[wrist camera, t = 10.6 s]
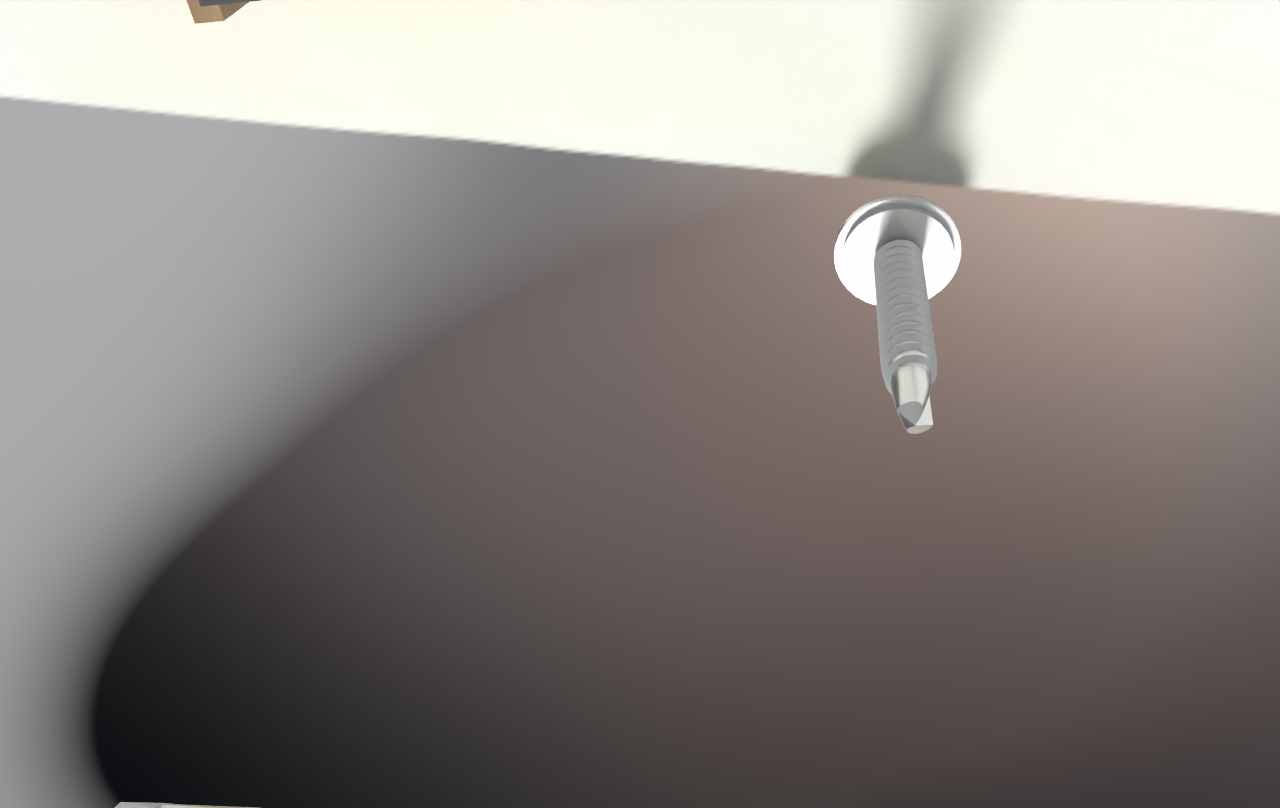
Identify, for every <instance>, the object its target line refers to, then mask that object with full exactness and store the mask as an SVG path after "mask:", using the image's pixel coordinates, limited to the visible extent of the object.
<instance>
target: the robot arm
mask: <svg viewBox="0 0 1280 808" xmlns="http://www.w3.org/2000/svg"><path fill="white" fill-rule="evenodd" d="M115 808H250V807H225V806H197V805H176V804H169V803H132V802H130V803H129V802H128V803H127V802H120V803H119V804H118V805H117V806H116V807H115ZM251 808H253V807H251Z"/></svg>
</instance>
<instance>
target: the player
mask: <svg viewBox="0 0 1280 808" xmlns="http://www.w3.org/2000/svg"><path fill="white" fill-rule="evenodd" d="M198 1H199V3H200V6H201V7H202V6H212V5H221V4H230V3H240V2H249V1H259V0H198Z"/></svg>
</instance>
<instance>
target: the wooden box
mask: <svg viewBox="0 0 1280 808" xmlns="http://www.w3.org/2000/svg"><path fill="white" fill-rule="evenodd" d="M187 3H188V5H189V8H190V11H191V14H192V16H193V19H194V22H195V24H196V23H206V22H215V21H224V20H225V19H227V18H228V17H229V16H231V15H232V14H233V13H235V12H236V11H237V10H239V9H240V8H241V7H243V6H244V5H245V4H247V3H248V2H240V3H230V4H221V5H212V6H202V7H201V6H200V3H199V1H198V0H187Z"/></svg>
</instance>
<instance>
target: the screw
mask: <svg viewBox="0 0 1280 808" xmlns="http://www.w3.org/2000/svg"><path fill="white" fill-rule="evenodd" d="M960 258H961V242H960V237H959V232H958V229H957V227H956V225H955V224H954V221H953V219H952V218H951V217H950V216H949V215H948V214H947V213H946V211H945V210H944V209H942V208H941V207H939V206H938V205H937V204H935V203H934V202H931V201H929V200H927V199H924V198H922V197H917V196H912V195H891V196H886V197H880V198H878V199H875V200H873V201H870V202H868V203H866V204H865V205H863V206H862V207H860V208H858V209H857V210H856V211H855V212H854V213H853V214H852V215H850V216H849V218H847V220H846V221H845V222H844V224H843V226H842V227H841V229H840V230H839V233H838V236H837V238H836V241H835V249H834V259H835V267H836V270H837V273H838V275H839V278H840V280H841V281H842V282H843V284H844V285H845V287H846V288H847V289H848V290H849V291H850V292H851V293H853V294H854V295H855V296H856V297H858V298H860V299H862V300H864V301H866V302H867V303H871V304H874V305H876V308H877V318H878V320H877V324H878V335H879V345H880V347H879V349H880V350H879V352H880V363H881V367H882V375H883V378H884V381H885V386H886V388H887V390H888V391H889V392H890V393H891V394H892V396H893V400H894V403H895V406H896V410H897V412H898V414H899V416H900V419H901V421H902V423H903V425H904V427H905V428H906V430H907V431H908V432H910V433H913V434H916V433H921V432H924V431H926V430H928V429H929V428H930V427H931V426H932V425H933V421H932V413H931V405H930V397H929V394H930V390H931V385H932V383H933V382H934V381H935V379H936V376H937V368H936V367H937V357H936V348H935V345H934V344H935V340H934V336H933V328H932V320H931V314H930V309H929V301H928V299H929V298H931V297H933V296H934V295H935V294H937V293H938V292H939V291H941V290H942V289H943V288H944V287H945V286H946V285H947V284H948V283H949V282H950V281H951V279H952V277H953V276H954V274H955V272H956V270H957V268H958V265H959V261H960Z"/></svg>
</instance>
